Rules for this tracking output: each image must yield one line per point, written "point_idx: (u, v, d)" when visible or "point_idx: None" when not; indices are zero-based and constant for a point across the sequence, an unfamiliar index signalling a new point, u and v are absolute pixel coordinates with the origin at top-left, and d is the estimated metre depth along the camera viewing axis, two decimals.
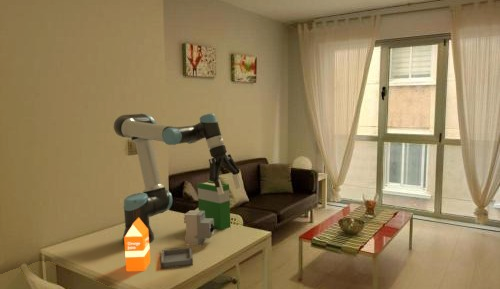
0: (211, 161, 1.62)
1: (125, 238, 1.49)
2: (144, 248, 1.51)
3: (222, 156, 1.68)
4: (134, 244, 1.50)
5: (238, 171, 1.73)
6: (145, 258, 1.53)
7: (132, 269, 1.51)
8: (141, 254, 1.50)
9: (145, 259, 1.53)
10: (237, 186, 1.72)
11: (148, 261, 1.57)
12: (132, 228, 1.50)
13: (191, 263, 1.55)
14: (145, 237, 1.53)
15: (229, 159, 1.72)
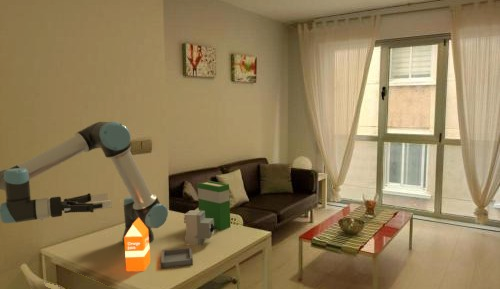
0: None
1: (125, 238, 1.49)
2: (144, 248, 1.51)
3: None
4: (134, 244, 1.50)
5: (91, 211, 1.37)
6: (145, 258, 1.53)
7: (132, 269, 1.51)
8: (141, 254, 1.50)
9: (145, 259, 1.53)
10: None
11: (148, 261, 1.57)
12: (132, 228, 1.50)
13: (191, 263, 1.55)
14: (145, 237, 1.53)
15: None
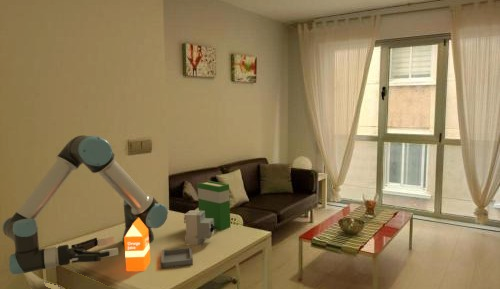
0: None
1: (125, 238, 1.49)
2: (144, 248, 1.51)
3: None
4: (134, 243, 1.50)
5: None
6: (145, 258, 1.53)
7: (132, 269, 1.51)
8: (141, 254, 1.50)
9: (145, 259, 1.53)
10: None
11: (148, 261, 1.57)
12: (132, 228, 1.50)
13: (191, 263, 1.55)
14: (145, 237, 1.53)
15: (78, 258, 1.39)
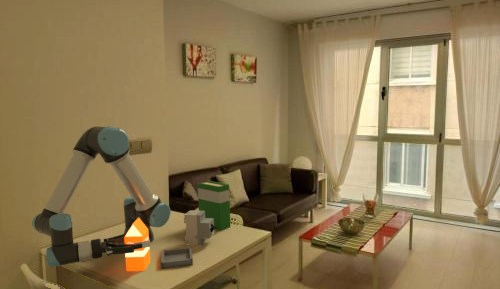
0: None
1: (125, 238, 1.49)
2: (144, 248, 1.51)
3: None
4: None
5: None
6: (145, 258, 1.53)
7: (132, 269, 1.51)
8: (141, 254, 1.50)
9: (145, 259, 1.52)
10: None
11: (148, 261, 1.57)
12: (132, 228, 1.50)
13: (191, 263, 1.55)
14: (145, 237, 1.53)
15: None
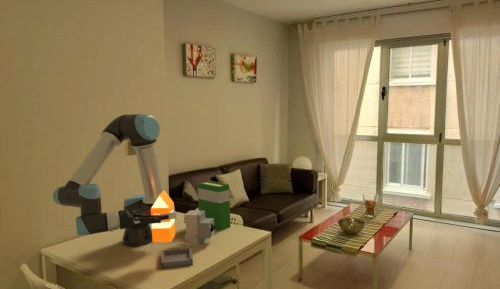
0: None
1: (151, 209, 1.51)
2: (170, 220, 1.53)
3: None
4: None
5: (159, 222, 1.48)
6: (171, 230, 1.54)
7: (158, 240, 1.52)
8: (167, 226, 1.51)
9: (171, 230, 1.54)
10: None
11: (173, 233, 1.58)
12: (158, 200, 1.51)
13: (191, 263, 1.55)
14: (171, 209, 1.55)
15: None
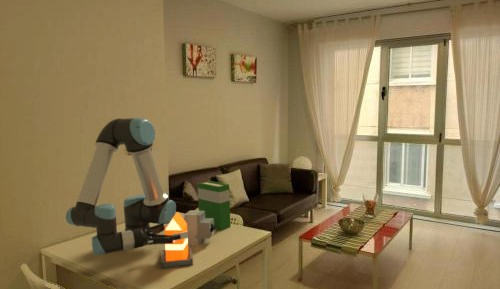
0: None
1: (165, 231, 1.54)
2: (183, 242, 1.56)
3: None
4: None
5: None
6: (184, 251, 1.57)
7: None
8: (180, 248, 1.54)
9: (184, 252, 1.57)
10: None
11: (186, 255, 1.61)
12: (172, 222, 1.54)
13: (191, 263, 1.55)
14: (184, 231, 1.57)
15: (153, 241, 1.49)
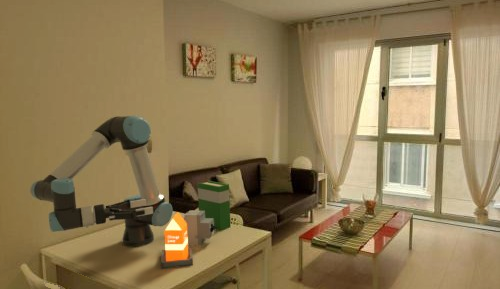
0: None
1: (165, 231, 1.54)
2: (183, 242, 1.56)
3: None
4: (174, 237, 1.54)
5: None
6: (184, 251, 1.57)
7: None
8: (180, 248, 1.54)
9: (184, 252, 1.57)
10: None
11: (186, 255, 1.61)
12: (172, 222, 1.54)
13: (191, 263, 1.55)
14: (184, 231, 1.57)
15: (115, 216, 1.41)
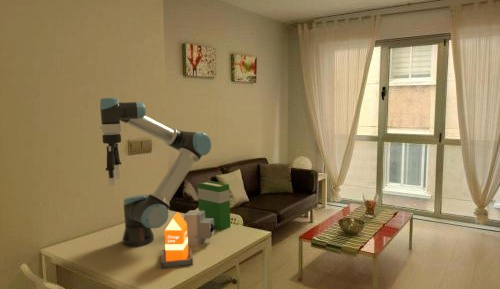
0: None
1: (165, 231, 1.54)
2: (183, 242, 1.56)
3: None
4: (174, 237, 1.54)
5: (106, 168, 1.51)
6: (184, 251, 1.57)
7: None
8: (180, 248, 1.54)
9: (184, 252, 1.57)
10: None
11: (186, 255, 1.61)
12: (172, 222, 1.54)
13: (191, 263, 1.55)
14: (184, 231, 1.57)
15: None
